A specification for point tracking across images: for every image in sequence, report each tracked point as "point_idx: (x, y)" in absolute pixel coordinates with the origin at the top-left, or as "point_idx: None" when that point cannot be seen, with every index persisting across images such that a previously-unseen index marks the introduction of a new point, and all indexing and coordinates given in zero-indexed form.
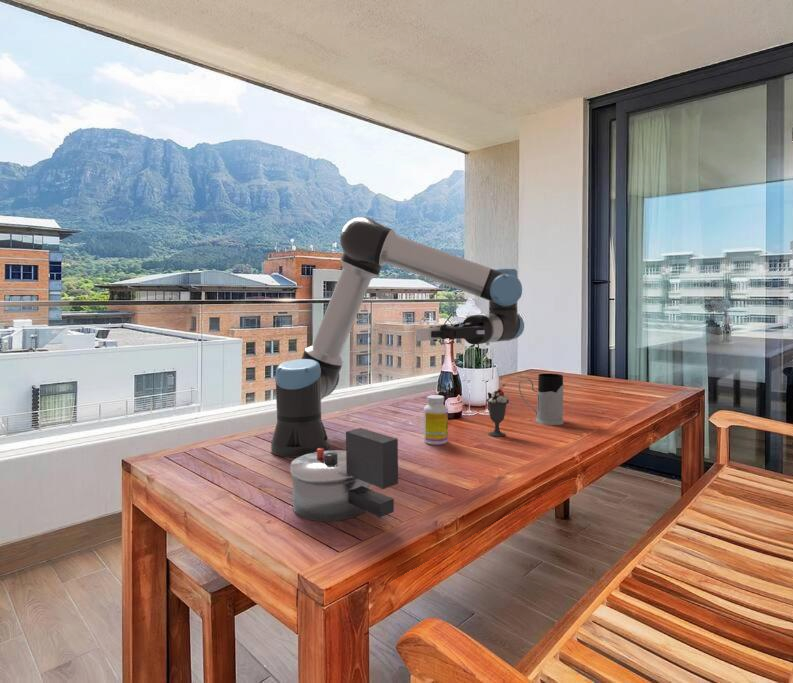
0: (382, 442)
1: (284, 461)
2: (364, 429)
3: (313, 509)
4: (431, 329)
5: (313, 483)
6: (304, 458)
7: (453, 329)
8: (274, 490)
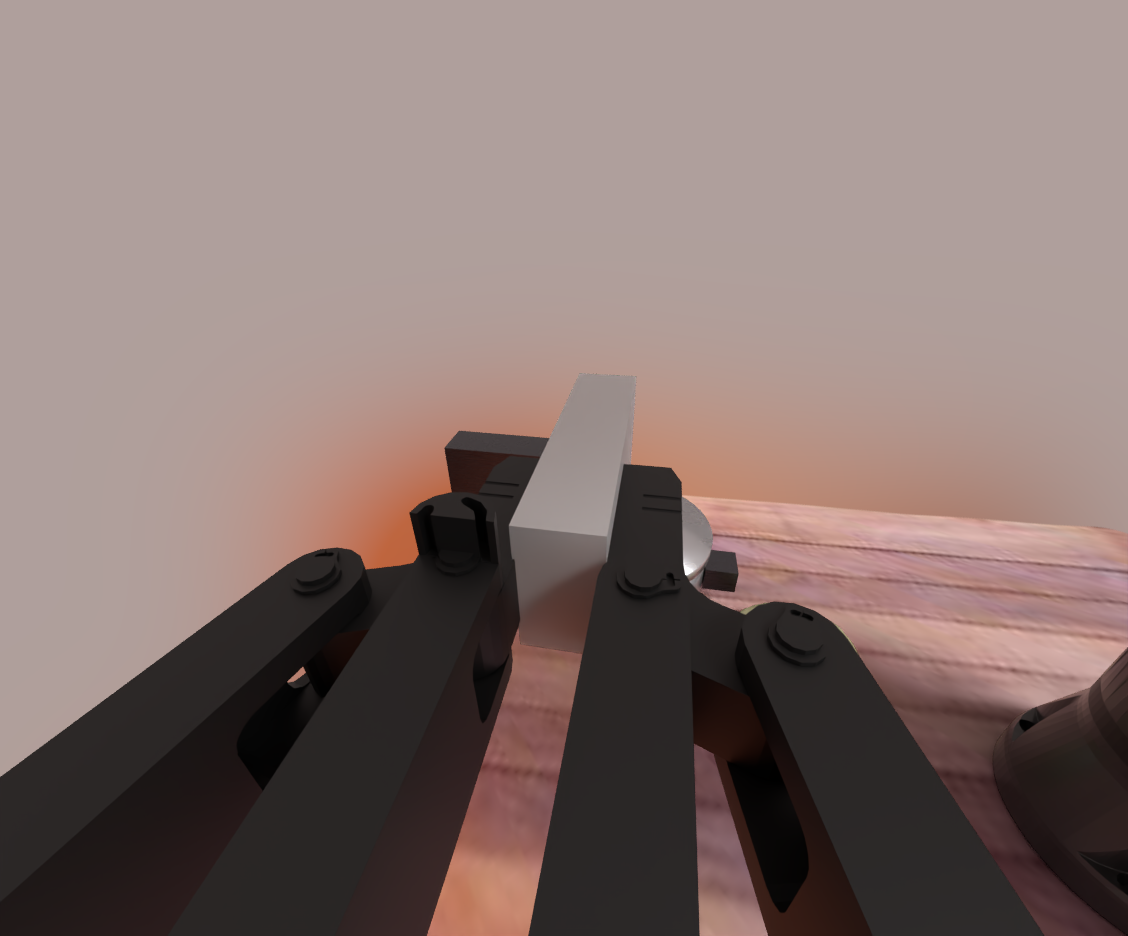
0: (461, 432)
1: (969, 700)
2: (536, 455)
3: None
4: (552, 445)
5: None
6: (690, 518)
7: (285, 579)
8: (762, 579)
